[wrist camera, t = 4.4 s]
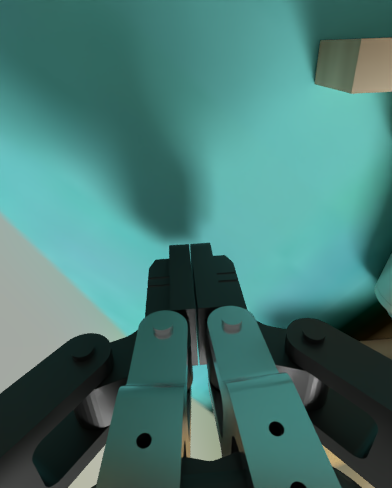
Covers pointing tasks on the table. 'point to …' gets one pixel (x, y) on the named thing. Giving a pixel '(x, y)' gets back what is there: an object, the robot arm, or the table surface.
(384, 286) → the pipe fitting
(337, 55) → the wooden frame
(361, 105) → the table surface
